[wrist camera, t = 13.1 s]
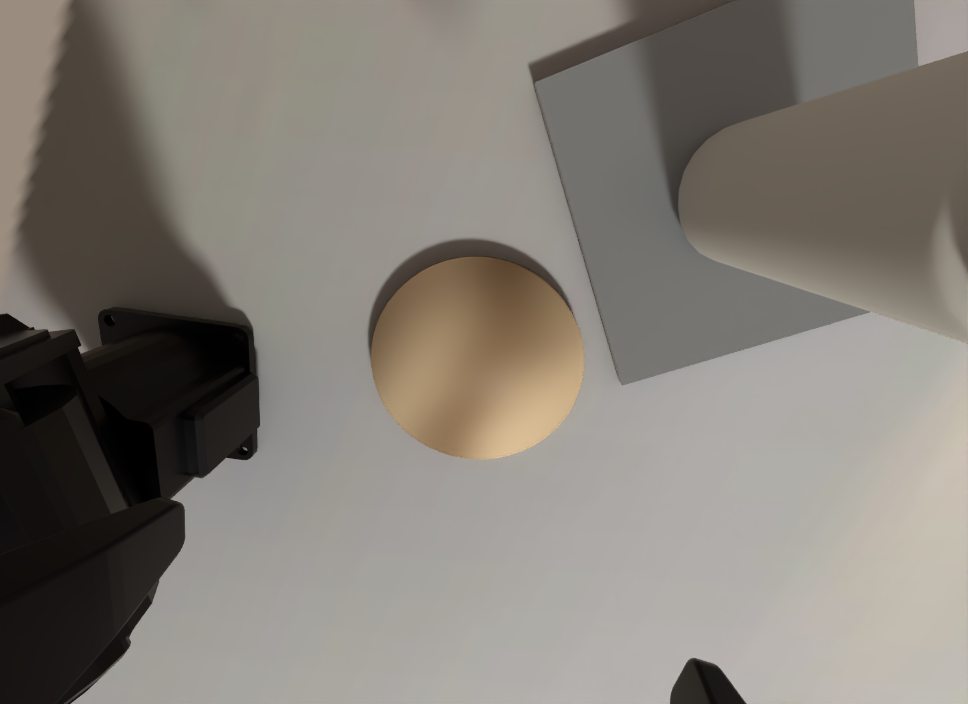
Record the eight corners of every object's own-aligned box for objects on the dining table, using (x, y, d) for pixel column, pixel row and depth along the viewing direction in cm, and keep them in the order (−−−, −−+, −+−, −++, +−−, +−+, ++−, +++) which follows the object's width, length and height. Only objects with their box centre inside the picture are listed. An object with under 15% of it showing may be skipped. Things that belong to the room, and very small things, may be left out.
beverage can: (717, 287, 18) (1068, 445, 7) (643, 189, 17) (908, 182, 6) (833, 200, 17) (1498, 212, 6) (760, 89, 16) (1391, -172, 5)
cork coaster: (370, 437, 22) (366, 444, 21) (380, 241, 19) (376, 243, 18) (561, 464, 22) (562, 472, 21) (601, 272, 19) (605, 274, 18)
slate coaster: (618, 380, 20) (622, 385, 20) (534, 85, 17) (535, 82, 16) (919, 290, 18) (933, 293, 18) (894, -62, 15) (909, -72, 14)
